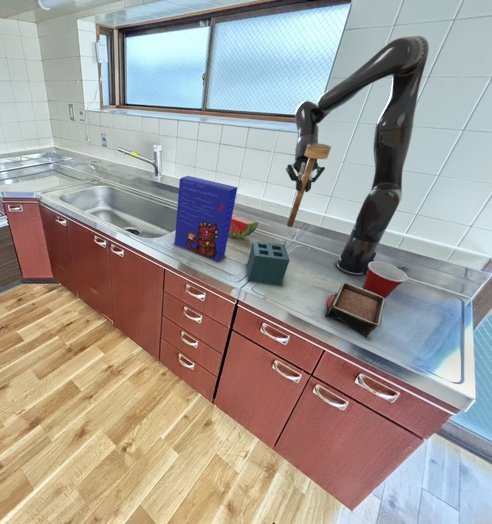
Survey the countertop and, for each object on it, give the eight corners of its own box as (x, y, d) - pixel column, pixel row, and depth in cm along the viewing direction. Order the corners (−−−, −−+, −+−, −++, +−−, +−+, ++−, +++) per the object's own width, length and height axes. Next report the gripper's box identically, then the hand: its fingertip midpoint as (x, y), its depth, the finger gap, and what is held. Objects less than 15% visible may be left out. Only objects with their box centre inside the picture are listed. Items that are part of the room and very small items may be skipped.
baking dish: (380, 323, 91) (392, 295, 87) (370, 347, 79) (385, 316, 75) (329, 304, 100) (338, 278, 96) (314, 323, 88) (324, 295, 84)
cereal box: (224, 256, 121) (237, 186, 105) (217, 261, 117) (230, 190, 101) (182, 239, 133) (188, 175, 117) (174, 244, 129) (179, 178, 113)
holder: (276, 269, 113) (284, 244, 107) (281, 285, 104) (289, 260, 98) (246, 265, 115) (252, 240, 110) (248, 280, 106) (254, 255, 100)
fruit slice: (202, 225, 147) (205, 207, 142) (210, 222, 150) (213, 204, 145) (246, 244, 130) (251, 224, 125) (254, 240, 133) (259, 221, 128)
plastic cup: (393, 313, 92) (412, 283, 85) (353, 301, 97) (368, 272, 90) (389, 295, 100) (407, 266, 93) (353, 285, 104) (367, 257, 98)
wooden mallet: (279, 224, 119) (305, 142, 101) (298, 226, 118) (327, 143, 99) (282, 233, 113) (310, 147, 95) (302, 235, 112) (334, 148, 93)
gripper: (290, 142, 108) (286, 184, 105) (330, 145, 105) (328, 187, 102) (284, 154, 115) (280, 193, 112) (322, 156, 112) (319, 197, 109)
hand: (303, 190), depth 107 cm, fingers closed on wooden mallet
